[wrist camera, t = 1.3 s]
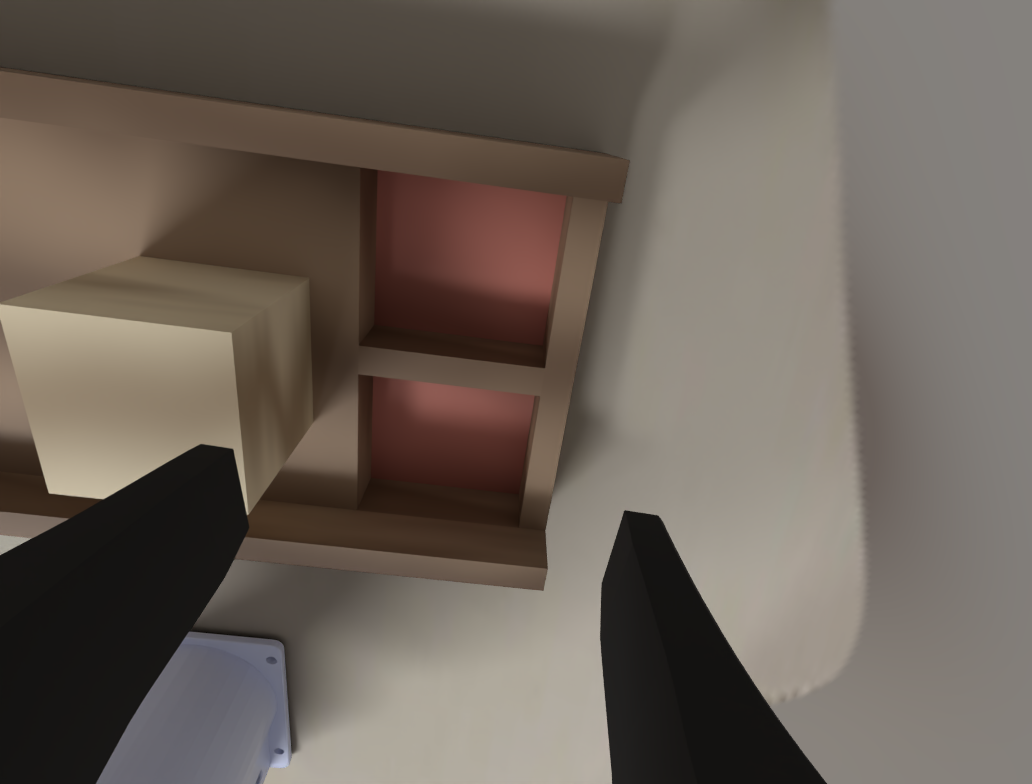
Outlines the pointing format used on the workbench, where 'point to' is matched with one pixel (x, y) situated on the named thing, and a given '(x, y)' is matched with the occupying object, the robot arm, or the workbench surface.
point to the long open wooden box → (334, 305)
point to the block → (162, 371)
